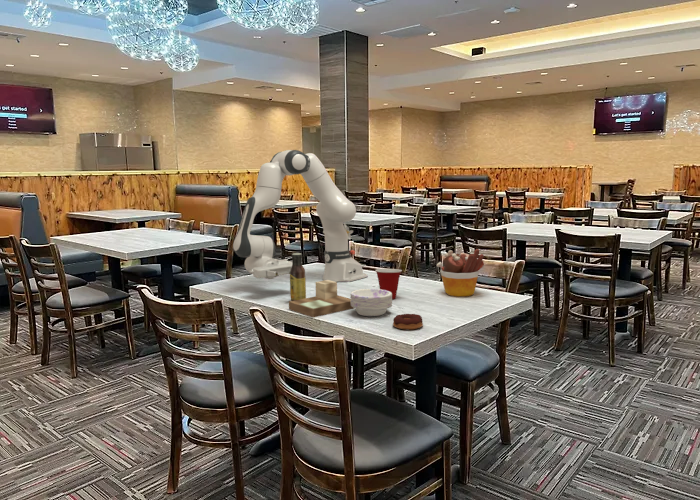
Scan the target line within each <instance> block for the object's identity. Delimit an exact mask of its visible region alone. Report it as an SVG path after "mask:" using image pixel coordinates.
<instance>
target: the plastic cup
mask: <svg viewBox="0 0 700 500" xmlns="http://www.w3.org/2000/svg"><path fill="white" fill-rule="evenodd" d="M374 271H375V273H376V275H377V281H378V285H379V286H378V287H379V289H381V290H387V291H390V292H391V293H392V300H395V299H396V297H397V292H398V288H399V281H400V277H401V274H402V271H403V270H402V269H399V268H398V269H397V268H377V269H375V270H374Z"/></svg>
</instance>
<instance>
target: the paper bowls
mask: <svg viewBox="0 0 700 500" xmlns="http://www.w3.org/2000/svg"><path fill="white" fill-rule="evenodd" d="M349 296H350V301H351V306H352V307H354V308H353V309H354V310H355V311H356V313H357V314H358V315H360V316H363V317H379V316H383V315H385V314H386V312H387V310H389V309H390V308H392V306H393V299H392V293H391V292H390V291H387V290H381V289H380V288H362V289H356V290H353V291H351V292H350V295H349Z"/></svg>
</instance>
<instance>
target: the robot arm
mask: <svg viewBox="0 0 700 500" xmlns="http://www.w3.org/2000/svg"><path fill="white" fill-rule="evenodd" d="M257 174H258V176H257V180H256V187H255V190H254V192H253V195H252V196H251V197H250V198H248V199H247V201H246V204H245V206H244V208H243V209H244V210H243V211H242V216H241V219H240V224H239V226H238V230H237V232H236V234H235V237H234V239H233V243H232V249H233V251H234V253H235V254H236V255H237V257H240V258H245V260H244V268H245V269H246V271H247V272H248V273H249V274H252V275H253V277H255V278H256V279H267V280H272V279H273V280H274V279H275V278H277V277H279V276H282V275H283V276H284V275H290V271H291V268H292V261H290V260H288V259H286V258H274V257H275V255H276V244H275V242H274V239H273V238H272V237H271V236H267V235H255V234H251V230H252V226H253V224H254V219H255V217H256V215H257V214H258V213H259V212H262V211H264V210H268V209H271V208H273V207H275V206H276V205H277V204H279V202H280V200H281V197H282V196H281V195H282V194H281V193H282V185H283V181H284V178H285V177H286V176H294V175H301V176H302V178H303V181H304V182H305V183H306V185H307V187H308V189H309V190H310V191H311V193H312V195H313V196H314V198H316V199H317V200H318V201H319V202H317V203H318V204H316V208H315V209H316V211H315V212H316V214H317V216H318V217H319V219H320V222H321V225H322V229H323V231H324V233H323V234H324V245H325V246H324V248H325V250H324V261H325V262H324V271H323V276H322V281H324V280H330V281H334V282H337V283H338V282H344V283H346V282H353V281H357V280H361V279H364V278H368V274H367V273H364V271H363V267H362V264H361V263H360V262H358V261H357V260H356V259H354V258H353V257H352V255H355V254H356V250H352V249H351V250H350V249H349V239H348V234H347V232H346V230H345V229H344V223H347V222H350V221H352V220H353V219H354V218H355V217H356V214H357V208H356V205H355V204H354V203H353V202H352V201H351V200H349V198H347V197H346V196H345V194H343V192H342V191H341V190H340V189H339V187H337V186H336V184H335V183H334V181H333V180H332V177H331V176H330V174H329V173H328V171H327V169H326V167H325V166H324V164H323V162H321V160H320V158H318V157H317V155H316V154H314V153H311V152H309V153H304V152H303V151H300V150H299V149H298V150H297V149H287V150H283V151H278V152H277V153H275V154H274V155H273V156H272V158H271V160H270V161H269V162H265V163H262V164H261V166H260V168H259V171H258V173H257Z"/></svg>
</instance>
